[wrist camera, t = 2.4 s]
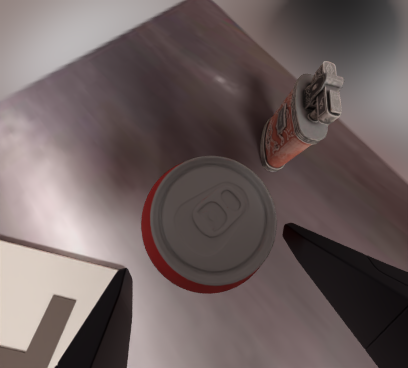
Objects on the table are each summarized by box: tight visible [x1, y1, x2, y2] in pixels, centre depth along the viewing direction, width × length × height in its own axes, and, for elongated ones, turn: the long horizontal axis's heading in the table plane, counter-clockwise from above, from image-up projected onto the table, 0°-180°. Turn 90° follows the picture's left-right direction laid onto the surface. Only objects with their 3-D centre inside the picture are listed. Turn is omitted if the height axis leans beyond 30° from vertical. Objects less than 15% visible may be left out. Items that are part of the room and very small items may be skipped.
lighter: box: [261, 61, 344, 172], centre depth 18 cm, size 8×3×10 cm, turn 169°
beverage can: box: [141, 156, 277, 294], centre depth 13 cm, size 7×7×12 cm
